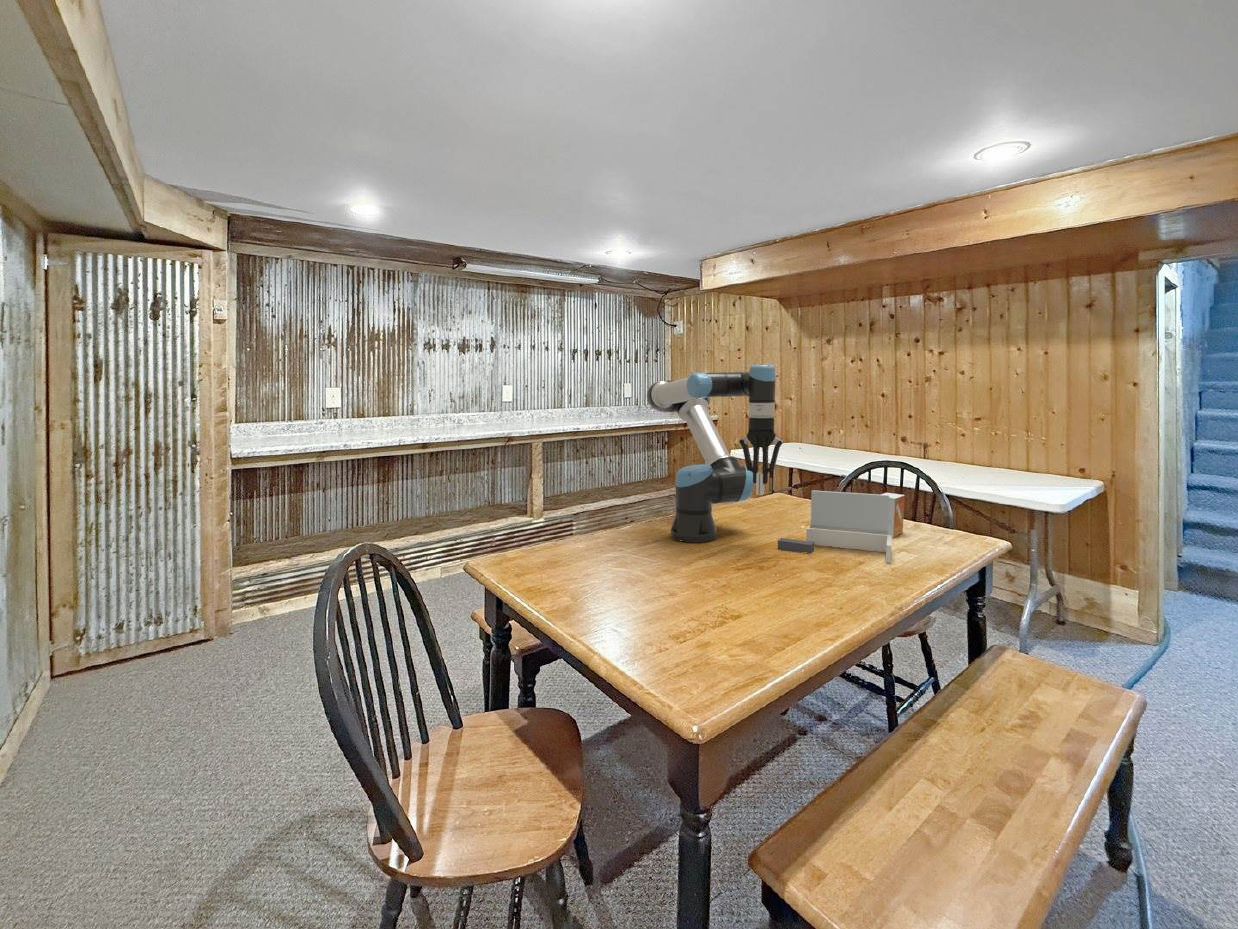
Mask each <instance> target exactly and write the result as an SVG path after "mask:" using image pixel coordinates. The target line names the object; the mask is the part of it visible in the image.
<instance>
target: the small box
mask: <svg viewBox="0 0 1238 929" xmlns="http://www.w3.org/2000/svg"><path fill="white" fill-rule="evenodd" d="M879 495H889V513H888V535H892V539H893V538H895V537H897V536H900V535H901V534H903V533H904V532H903V530H904V514H905V498H906V495H905V494H899V493H892V492H884V493H881V494H879ZM899 534H900V535H899Z"/></svg>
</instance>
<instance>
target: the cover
mask: <svg viewBox="0 0 1238 929" xmlns="http://www.w3.org/2000/svg"><path fill="white" fill-rule="evenodd" d="M810 493H811V494H810V495H811V496H810V498H811V499H810V501H811V502H810V524H809V528H815V529H826V530H837V531H849V532H860V533H871V534H882V535H888V513H889V495H880V494H876V493H860V492H859V493H858V492H847V491H846V492H843V491H828V490H827V491H826V490H811V492H810Z"/></svg>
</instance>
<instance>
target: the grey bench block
mask: <svg viewBox="0 0 1238 929" xmlns="http://www.w3.org/2000/svg"><path fill="white" fill-rule="evenodd" d="M805 533H806V535H805V536H806V537H805V541H810V542H814V546H818V547H819V546H820V547H828V546H832V548H838V547H840V548H841V549H850V550H858V549H859V550H858V551H868V552H869V551H870V552H877V553H878V552H879V553H885V564H891V562H892V561H891V560H892V559H891V558H892V557H891V556H892V541H893V538H892V535H882V534H871V533H860V532H849V531H837V530H826V529H815V528H810V527H806V532H805ZM840 548H839V549H840Z"/></svg>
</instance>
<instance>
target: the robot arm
mask: <svg viewBox="0 0 1238 929" xmlns="http://www.w3.org/2000/svg"><path fill="white" fill-rule="evenodd" d="M776 379H777V378H776V368H775V366H774V365H773V364H752V365H750V366H749V371H735V372H734V371H730V372H729V371H728V372H724V371H723V372H703V371H701V372H693V373H691V374H689V377H685V378H681V379H677V380H660V381H656V382H654V383H652V384H651V385H650V386H649V388H648V389H647V392H646V399H647V403H648V404H649V406H650V407H651V408H652V409H653V410H656V411H658V412H661V413H662V412H663V413H673V412H675V413H677V415H678V416H679V418H680V420H682V421H684V422H686V424H687V426H688V428H689V431H690V433H691V435H692V437H693V439H694V441H695V443H696V445H697V447H698V449H699V452H700V454H701V455H702V458H703V460H704V462H705V464H692V465H687V466H684V467H683V466H682V467H680V468H679V469H678V470H677V471H676V474H675V484H674V485H675V516H674V519H673V521H672V525H671V527H670V538H671V537H672V538H674V539H676V540H675V541H677V540H682V541H687V542H686V543H690V542H701V543H708V542H707V541H709V542H712V541H715V540H716V539H717V538H718V530H717V527H716V523H715V520H714V517H713V514H712V513H713V512H712V510H713V508H712V506H713V505H715V504H726V503H739V502H742V501H745V500H748V499H749V498H750V497H751V495H752V493H753V491H754V484H755V485H756V486H755V495H757V496H759V495H760V496H763V495H764V494H765V485H767V484H768V480H769V478H768V477H769V473H771V472H773V471H775V467H776V465H777V460H778V457H779V456H778V455H779V453H780V452H779V451H780V448H781V447H782V445H783V444H784V440H783V439H779V438H778V437H776V436H777V434H776V433H775V418H774V417H773V416H775V412H776V410H775V408H776V407H775V406H776V403H775V402H776ZM723 397H724V398H727V397H729V398H731V397H733V398H734V397H748V416H750V417H749V418H748V432H747V433H746V436H745V437H743V438H741V439H740V440H739V444H740V446H741V447H742V452H743V457H744V461H745V465H741V464H740V462H739V460H738V458H737V457H735V456H734V455H731V454H730V452H729V451H728V449H727V447H726V445H725V443H724V441H723V438H722V437H721V435H720V433H719V431H718V429H717V427H716V425H715V424H714V421H713V419H712V417H711V415H710V414H709V412H708V411H709V406H710V402H711V398H723ZM773 442H774V443H773ZM749 443H750V444H751V446H752V447H753V448H752V452H753V457H752V458H751V453H750V450H749V449H750V448H749V445H748V444H749ZM771 444H774V447H773V452H772V455H771V460H770V464H769V448H770V446H771ZM760 449H761V451H762V471H761V472H759V467H760V466H759V464H760ZM752 460H753V461H752ZM672 538H671V539H672ZM674 539H673V540H674ZM711 540H712V541H711Z"/></svg>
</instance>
